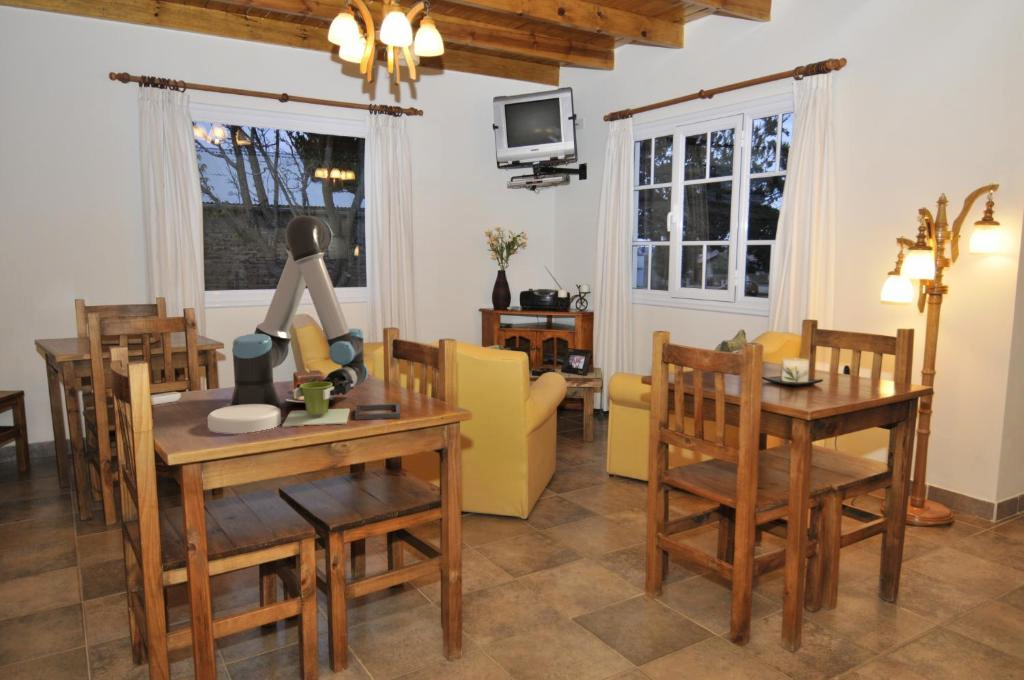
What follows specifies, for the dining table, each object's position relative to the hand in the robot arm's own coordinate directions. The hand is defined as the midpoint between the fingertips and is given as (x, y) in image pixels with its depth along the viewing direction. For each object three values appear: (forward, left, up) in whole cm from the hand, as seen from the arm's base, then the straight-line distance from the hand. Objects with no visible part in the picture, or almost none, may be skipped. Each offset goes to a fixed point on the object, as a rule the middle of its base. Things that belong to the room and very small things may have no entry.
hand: (309, 394), depth 211 cm
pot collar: (+20, +7, -8) cm, 22 cm away
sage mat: (+2, +4, -8) cm, 10 cm away
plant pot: (+2, +4, -7) cm, 8 cm away
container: (-18, -1, -9) cm, 20 cm away
